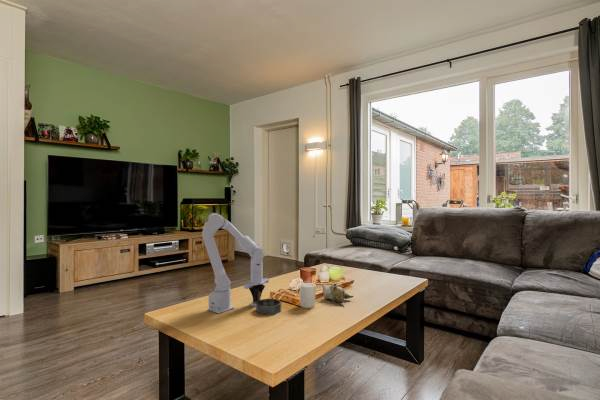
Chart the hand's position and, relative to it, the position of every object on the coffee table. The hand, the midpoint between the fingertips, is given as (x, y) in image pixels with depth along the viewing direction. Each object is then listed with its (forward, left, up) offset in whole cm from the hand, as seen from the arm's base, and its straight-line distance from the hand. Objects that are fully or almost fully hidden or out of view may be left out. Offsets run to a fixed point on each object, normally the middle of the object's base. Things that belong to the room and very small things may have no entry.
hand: (256, 300), depth 158 cm
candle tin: (-2, -10, -2) cm, 10 cm away
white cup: (+14, -20, -2) cm, 25 cm away
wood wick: (0, 0, -2) cm, 2 cm away
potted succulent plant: (+29, -26, -2) cm, 39 cm away
